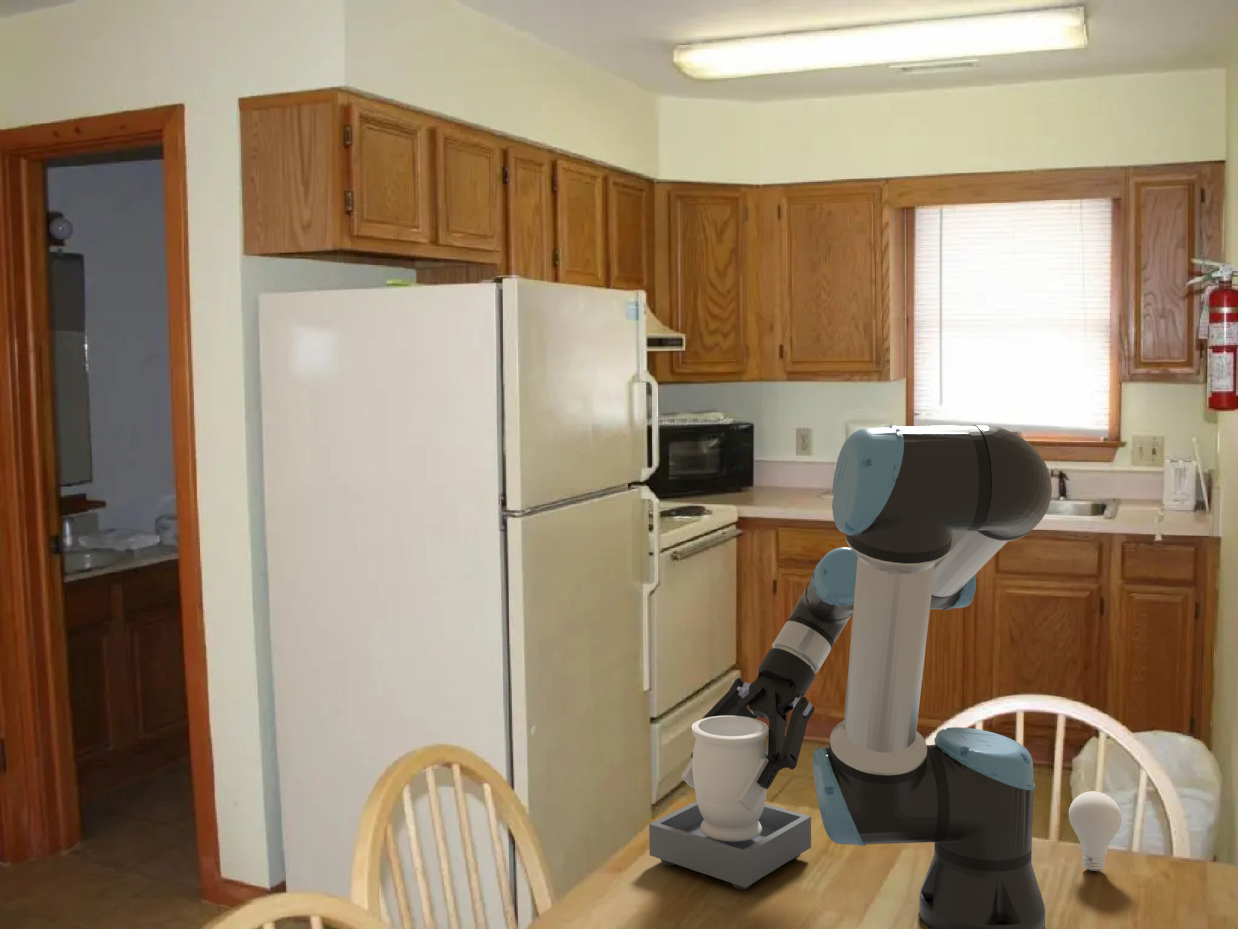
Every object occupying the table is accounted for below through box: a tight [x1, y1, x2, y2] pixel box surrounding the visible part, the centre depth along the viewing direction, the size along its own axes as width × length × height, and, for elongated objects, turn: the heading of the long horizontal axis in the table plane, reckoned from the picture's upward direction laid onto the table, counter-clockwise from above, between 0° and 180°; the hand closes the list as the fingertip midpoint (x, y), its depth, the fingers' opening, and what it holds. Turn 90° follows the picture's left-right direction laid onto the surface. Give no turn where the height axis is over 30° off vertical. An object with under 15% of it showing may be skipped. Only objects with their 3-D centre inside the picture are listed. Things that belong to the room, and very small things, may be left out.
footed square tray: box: [648, 800, 812, 891], centre depth 174 cm, size 16×16×6 cm
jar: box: [691, 716, 769, 842], centre depth 173 cm, size 11×10×15 cm
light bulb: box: [1068, 790, 1122, 873], centre depth 170 cm, size 7×7×11 cm
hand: (715, 794), depth 172 cm, fingers closed on jar, 10 cm apart
